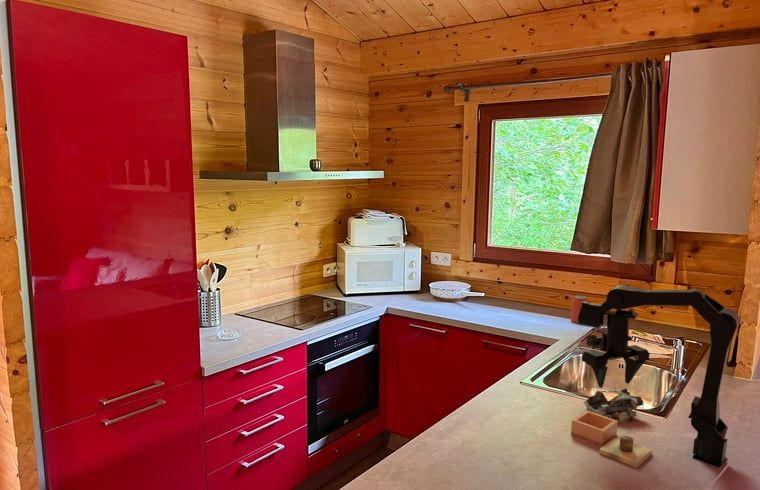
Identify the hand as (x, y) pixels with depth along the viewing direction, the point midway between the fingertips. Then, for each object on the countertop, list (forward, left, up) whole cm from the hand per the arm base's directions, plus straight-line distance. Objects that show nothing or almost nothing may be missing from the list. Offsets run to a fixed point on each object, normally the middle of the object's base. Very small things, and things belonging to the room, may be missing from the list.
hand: (613, 385), depth 163 cm
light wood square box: (+2, +6, -14) cm, 15 cm away
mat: (-9, +10, -14) cm, 19 cm away
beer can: (+57, -96, -14) cm, 112 cm away
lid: (-9, +10, -13) cm, 19 cm away
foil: (+4, -9, -14) cm, 17 cm away
